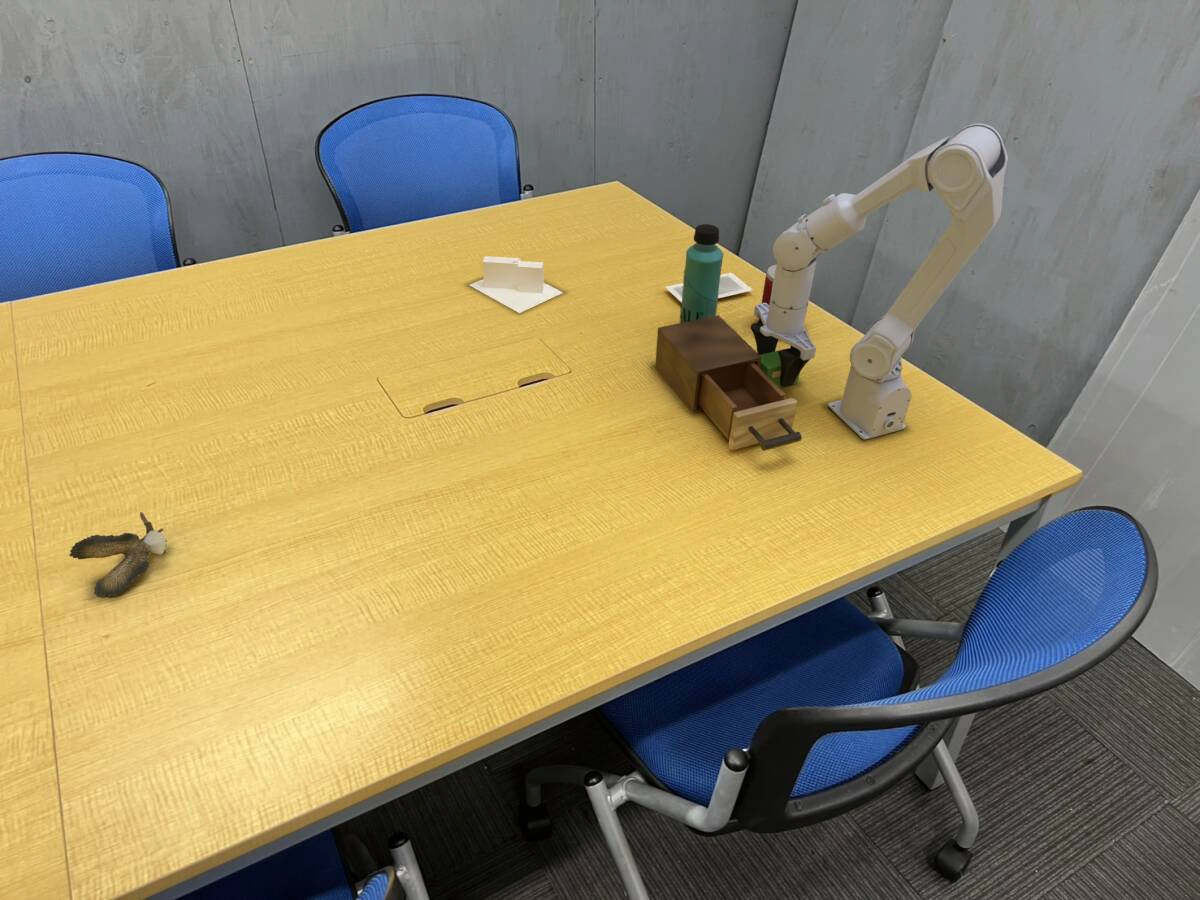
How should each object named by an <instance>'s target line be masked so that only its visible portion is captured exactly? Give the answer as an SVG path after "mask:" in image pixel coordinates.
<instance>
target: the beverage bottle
mask: <svg viewBox="0 0 1200 900" xmlns="http://www.w3.org/2000/svg"><path fill="white" fill-rule="evenodd" d="M693 242H695V243H694V244H691V246H689V247H688V248H687V249H686V252H685V264H684V270H683V279H682V283H683V284H684V285H683V286H682V287H683V291H682V292H683V296H682V302H681V303H680V308H679V311H680V312H679V320H678V321H679V323H683V322H688V321H693V320H697V319H702V318H707V317H712V316H717V315H718V313H717V311H718V304H719V302H718V301H719V298H718V293H719V292H718V291H719V283H720V275H722V274H721V273H722V266H723V259H724V252H723V251H722V249H721V248H720V247H719V246H718V245H717V244H718V243H719V242H720V229H719V227H718V226H716V225H713V224H709V223H704V224H699V225H697V226H696V227H695V229H694V234H693Z"/></svg>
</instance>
